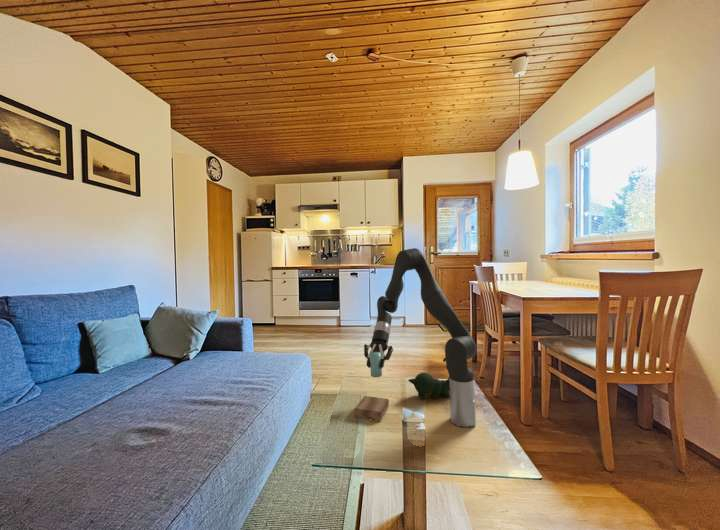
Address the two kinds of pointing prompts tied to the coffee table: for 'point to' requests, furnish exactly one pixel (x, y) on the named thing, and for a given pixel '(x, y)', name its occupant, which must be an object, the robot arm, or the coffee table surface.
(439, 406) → the coffee table surface
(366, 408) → the walnut plinth
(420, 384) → the toy figurine
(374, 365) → the teal cylinder
